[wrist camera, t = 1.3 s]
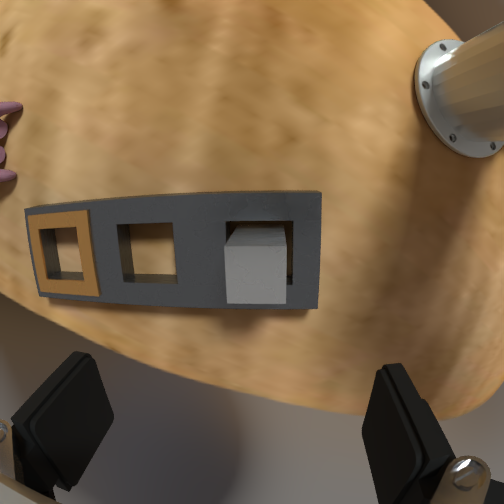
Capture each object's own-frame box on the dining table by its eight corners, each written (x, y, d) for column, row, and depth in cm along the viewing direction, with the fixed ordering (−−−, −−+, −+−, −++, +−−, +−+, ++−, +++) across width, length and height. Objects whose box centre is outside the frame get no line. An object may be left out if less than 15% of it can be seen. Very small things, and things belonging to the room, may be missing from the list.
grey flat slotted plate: (317, 190, 26) (322, 193, 24) (314, 297, 29) (317, 310, 26) (38, 205, 29) (22, 209, 26) (51, 288, 31) (37, 297, 29)
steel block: (283, 224, 28) (286, 246, 20) (283, 267, 29) (285, 303, 21) (238, 224, 28) (224, 246, 20) (239, 267, 29) (227, 303, 21)
